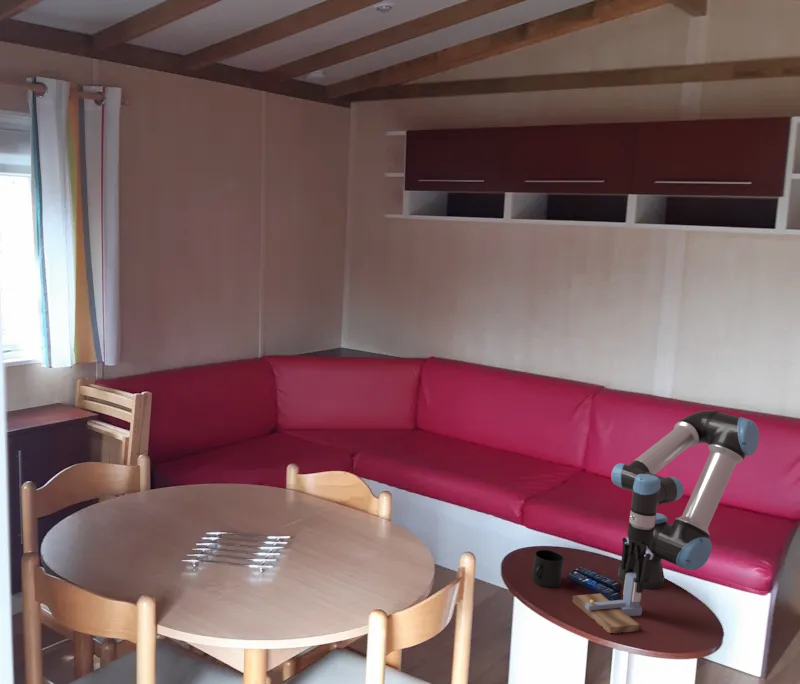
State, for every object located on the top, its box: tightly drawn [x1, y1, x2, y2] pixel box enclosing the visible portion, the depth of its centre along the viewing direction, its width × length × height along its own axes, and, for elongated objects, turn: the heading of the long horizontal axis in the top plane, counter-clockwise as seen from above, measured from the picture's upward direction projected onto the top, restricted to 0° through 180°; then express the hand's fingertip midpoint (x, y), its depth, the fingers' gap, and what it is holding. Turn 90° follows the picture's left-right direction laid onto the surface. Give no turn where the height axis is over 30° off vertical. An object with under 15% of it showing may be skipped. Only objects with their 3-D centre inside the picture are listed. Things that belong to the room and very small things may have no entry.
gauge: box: [585, 572, 643, 617], centre depth 236 cm, size 18×5×12 cm, turn 110°
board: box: [572, 592, 640, 634], centre depth 235 cm, size 10×20×2 cm, turn 20°
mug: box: [531, 549, 565, 588], centre depth 254 cm, size 9×12×9 cm
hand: (631, 597), depth 238 cm, fingers closed on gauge, 4 cm apart
